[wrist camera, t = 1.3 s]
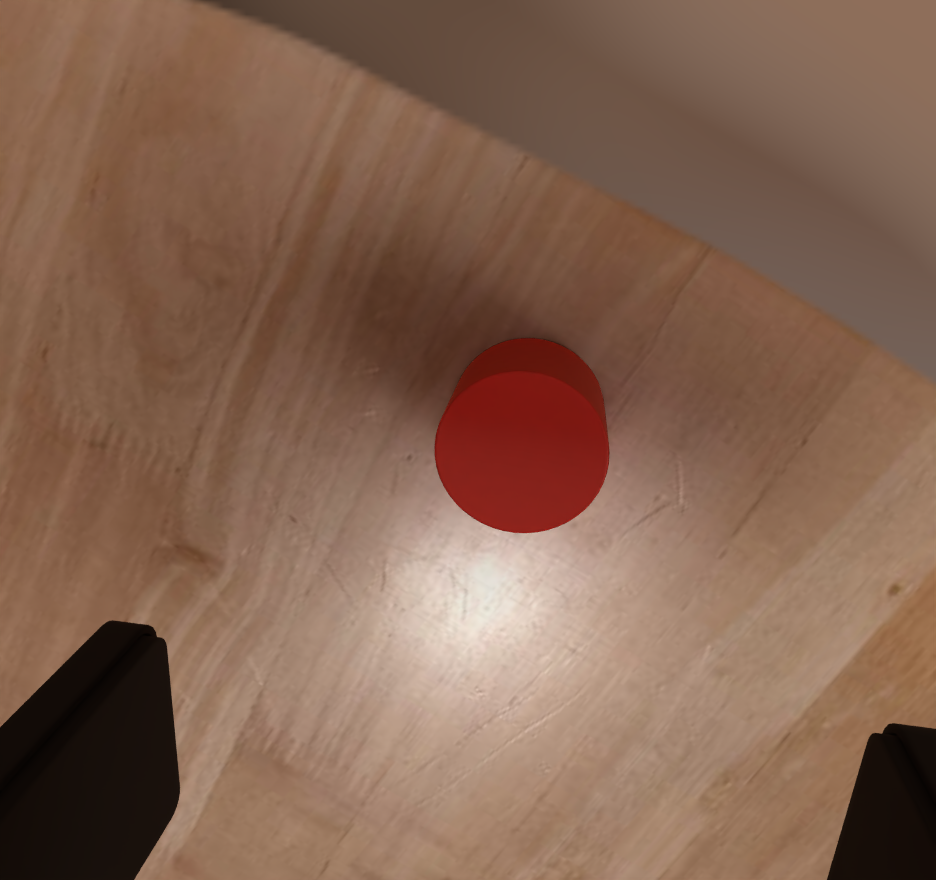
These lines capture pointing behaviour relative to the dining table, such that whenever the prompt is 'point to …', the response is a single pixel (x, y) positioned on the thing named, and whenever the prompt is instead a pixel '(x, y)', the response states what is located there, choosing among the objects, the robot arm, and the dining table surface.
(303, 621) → the dining table surface
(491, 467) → the cylinder
